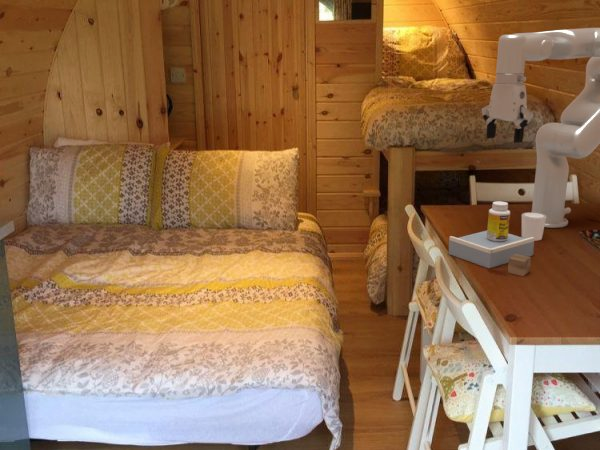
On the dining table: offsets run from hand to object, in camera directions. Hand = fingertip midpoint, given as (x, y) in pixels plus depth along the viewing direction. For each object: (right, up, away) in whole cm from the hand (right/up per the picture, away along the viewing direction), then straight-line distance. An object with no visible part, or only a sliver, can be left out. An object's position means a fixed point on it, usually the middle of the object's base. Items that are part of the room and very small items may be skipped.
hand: (504, 140), depth 186 cm
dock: (-7, -33, -11) cm, 35 cm away
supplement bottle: (-5, -29, -10) cm, 31 cm away
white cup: (+9, -29, +4) cm, 30 cm away
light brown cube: (-4, -37, -23) cm, 44 cm away
